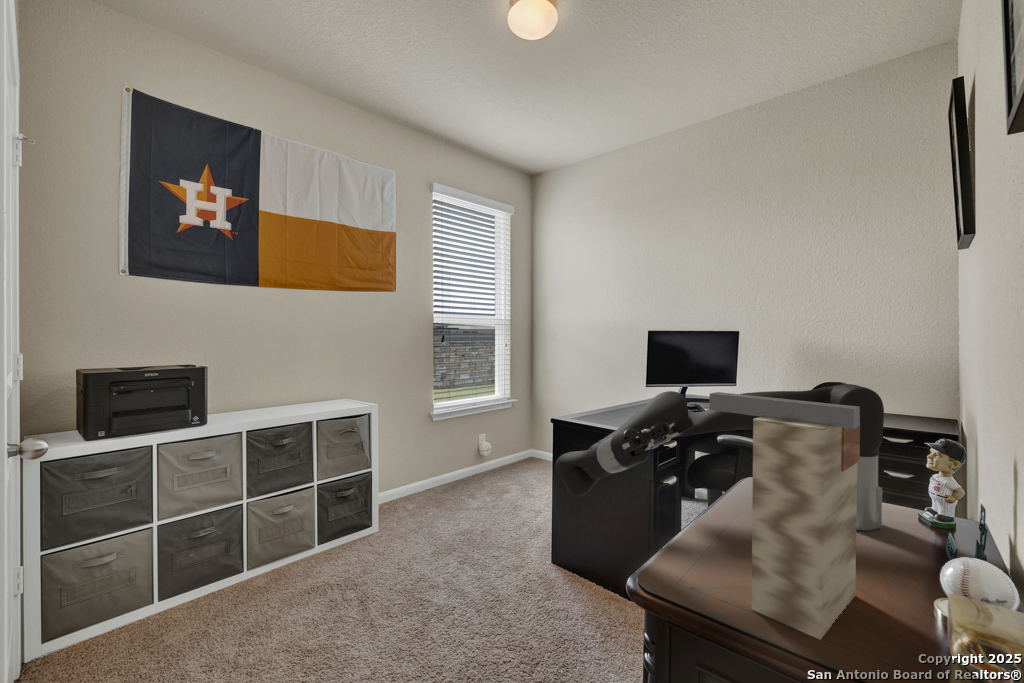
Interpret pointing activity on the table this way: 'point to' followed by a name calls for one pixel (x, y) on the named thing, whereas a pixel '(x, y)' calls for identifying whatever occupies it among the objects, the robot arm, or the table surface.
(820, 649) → the table surface
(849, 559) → the zigzag patterned pillar
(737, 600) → the table surface
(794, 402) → the metal block
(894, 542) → the table surface
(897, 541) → the table surface
